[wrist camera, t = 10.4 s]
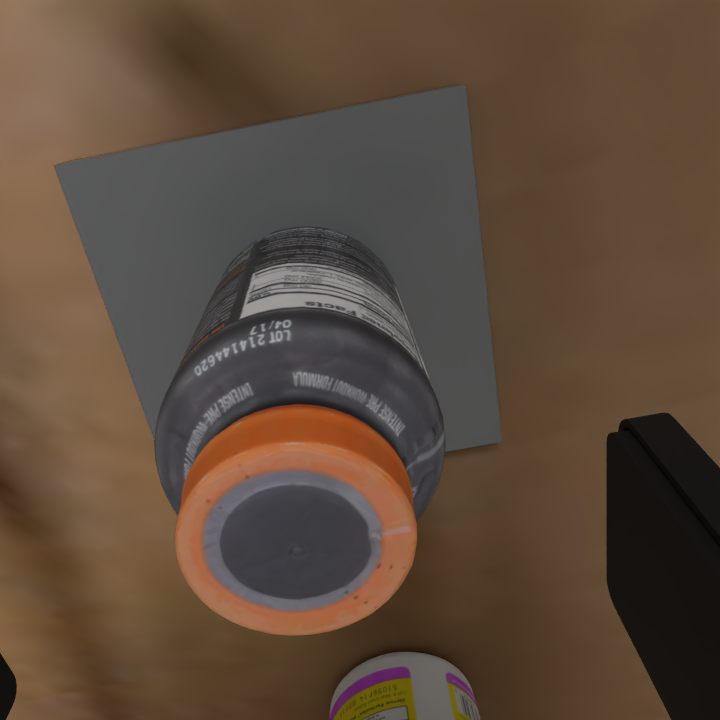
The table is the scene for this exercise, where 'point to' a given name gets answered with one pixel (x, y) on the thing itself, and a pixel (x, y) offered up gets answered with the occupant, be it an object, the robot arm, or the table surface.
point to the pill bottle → (300, 437)
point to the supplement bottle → (404, 690)
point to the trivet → (296, 209)
